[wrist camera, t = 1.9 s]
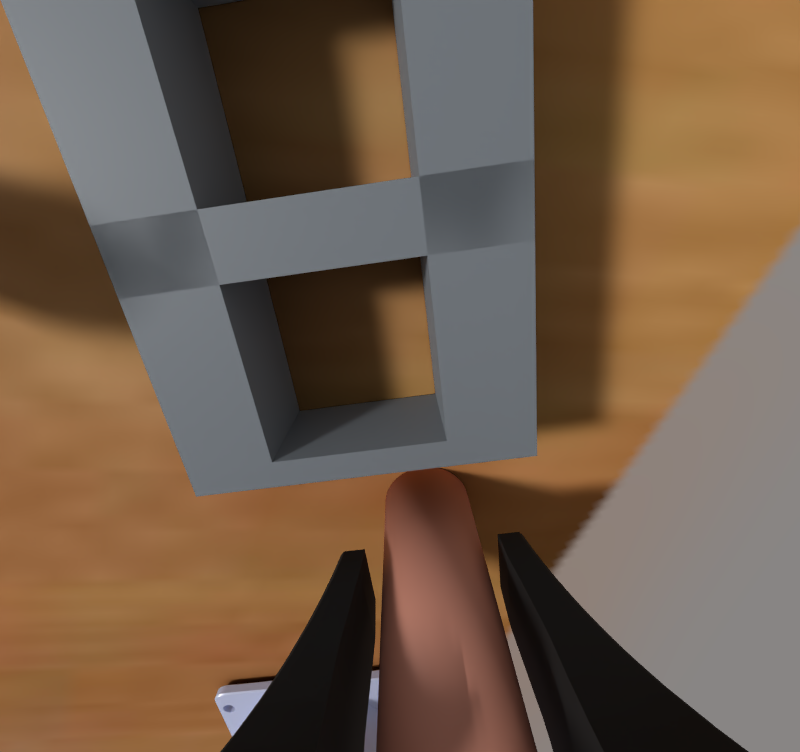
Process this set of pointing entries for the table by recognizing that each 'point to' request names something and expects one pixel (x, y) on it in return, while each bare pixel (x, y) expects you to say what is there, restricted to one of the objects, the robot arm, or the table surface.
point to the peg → (442, 629)
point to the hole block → (303, 235)
